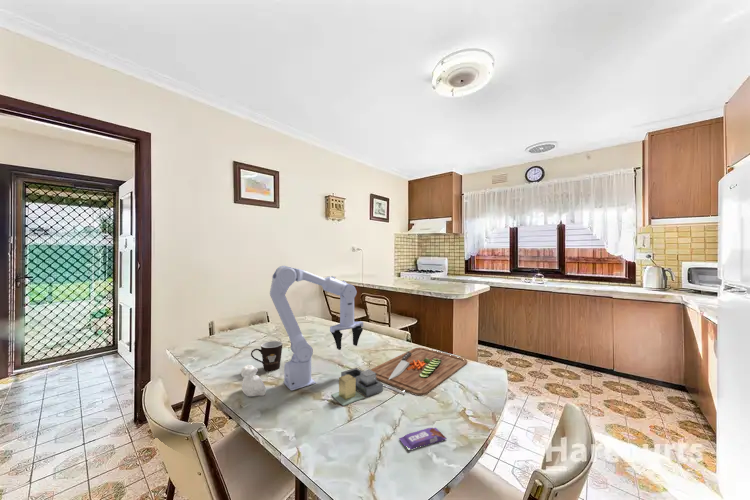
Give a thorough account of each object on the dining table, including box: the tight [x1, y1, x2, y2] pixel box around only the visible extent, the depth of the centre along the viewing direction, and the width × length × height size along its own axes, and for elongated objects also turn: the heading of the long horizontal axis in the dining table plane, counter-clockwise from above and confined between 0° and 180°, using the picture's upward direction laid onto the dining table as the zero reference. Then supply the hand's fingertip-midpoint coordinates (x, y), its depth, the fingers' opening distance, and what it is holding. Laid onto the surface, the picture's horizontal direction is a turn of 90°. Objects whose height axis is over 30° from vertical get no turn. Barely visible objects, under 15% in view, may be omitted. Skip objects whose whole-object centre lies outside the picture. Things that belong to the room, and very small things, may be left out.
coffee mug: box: [250, 340, 283, 372], centre depth 118 cm, size 12×9×10 cm
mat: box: [330, 390, 365, 407], centre depth 94 cm, size 8×8×1 cm
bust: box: [240, 364, 267, 398], centre depth 96 cm, size 12×8×11 cm
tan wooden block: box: [338, 374, 357, 400], centre depth 94 cm, size 4×4×6 cm
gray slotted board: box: [340, 367, 384, 398], centre depth 103 cm, size 7×17×2 cm, turn 37°
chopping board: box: [370, 347, 468, 396], centre depth 118 cm, size 45×27×3 cm, turn 139°
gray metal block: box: [360, 368, 376, 387], centre depth 99 cm, size 4×4×6 cm
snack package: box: [398, 427, 447, 449], centre depth 73 cm, size 12×2×5 cm
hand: (347, 347), depth 113 cm, fingers open, 7 cm apart
